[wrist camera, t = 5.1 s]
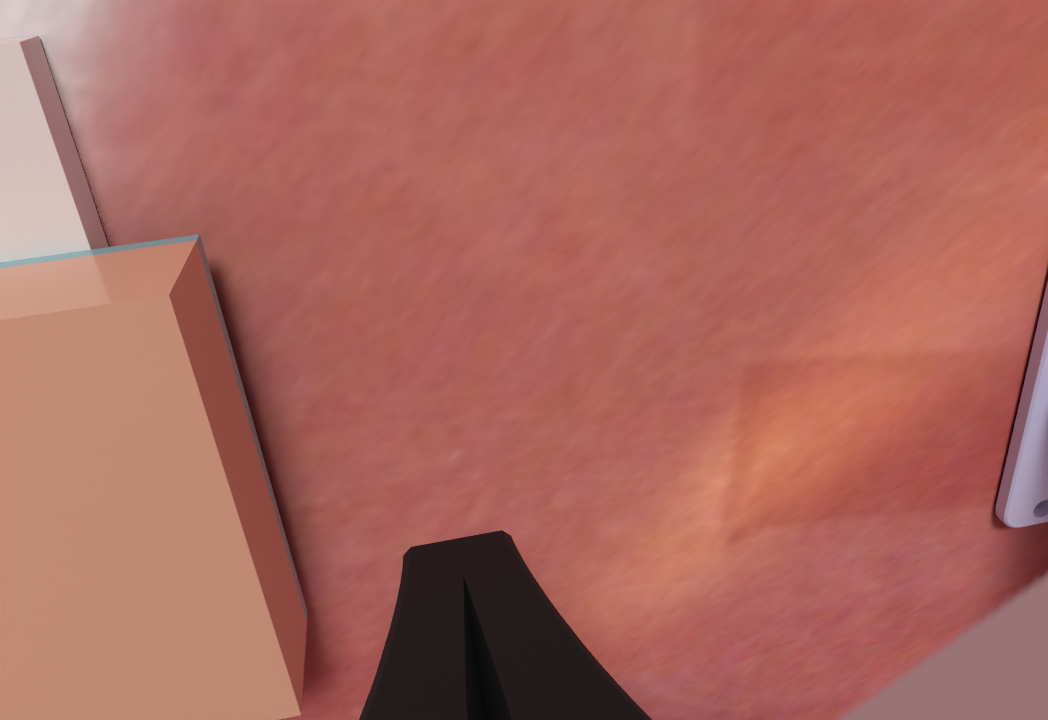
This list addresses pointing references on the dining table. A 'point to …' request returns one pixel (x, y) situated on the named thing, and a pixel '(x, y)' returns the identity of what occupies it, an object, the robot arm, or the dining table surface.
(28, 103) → the pale grey mat
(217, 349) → the glazed tile
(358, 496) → the dining table surface
